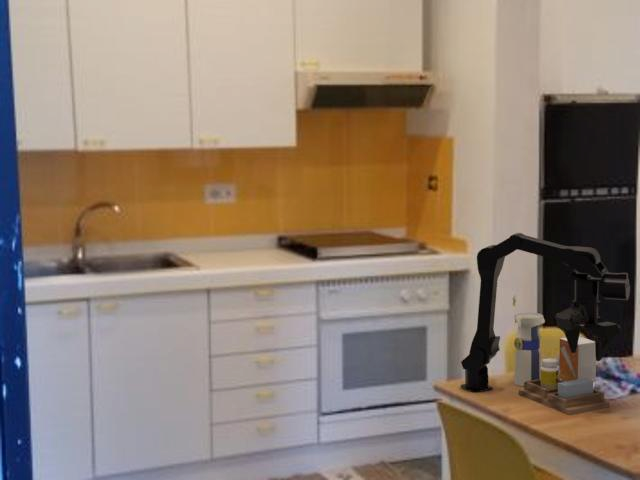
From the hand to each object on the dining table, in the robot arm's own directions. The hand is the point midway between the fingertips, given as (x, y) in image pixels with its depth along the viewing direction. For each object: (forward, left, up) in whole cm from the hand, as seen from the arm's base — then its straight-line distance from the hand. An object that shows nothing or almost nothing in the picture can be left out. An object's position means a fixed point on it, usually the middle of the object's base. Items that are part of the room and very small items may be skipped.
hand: (585, 356), depth 230 cm
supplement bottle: (-9, -4, -11) cm, 15 cm away
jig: (-4, -4, -12) cm, 13 cm away
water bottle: (-21, -2, -12) cm, 24 cm away
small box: (-12, +8, -12) cm, 19 cm away
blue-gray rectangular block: (+1, -4, -11) cm, 12 cm away
